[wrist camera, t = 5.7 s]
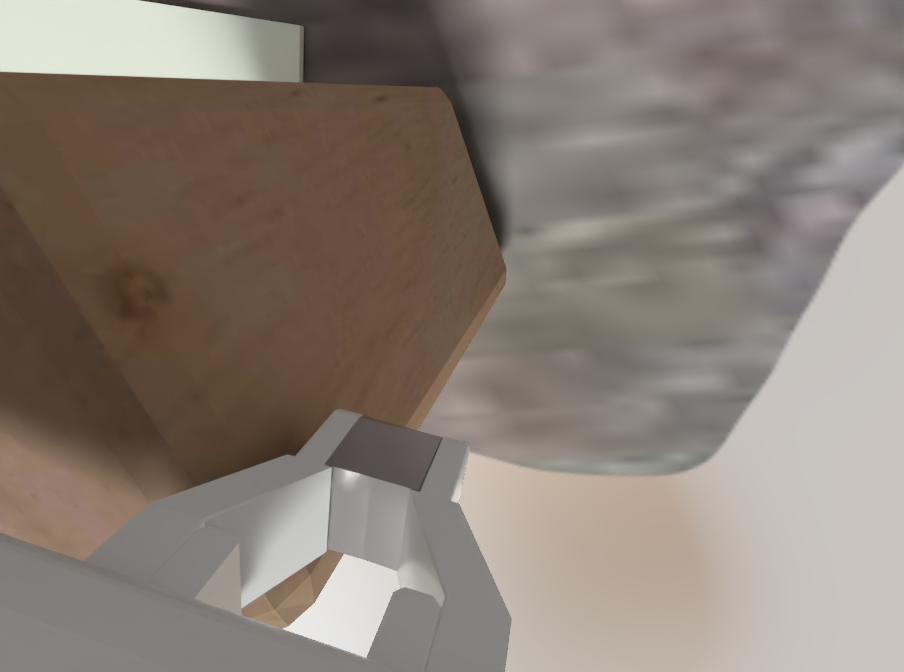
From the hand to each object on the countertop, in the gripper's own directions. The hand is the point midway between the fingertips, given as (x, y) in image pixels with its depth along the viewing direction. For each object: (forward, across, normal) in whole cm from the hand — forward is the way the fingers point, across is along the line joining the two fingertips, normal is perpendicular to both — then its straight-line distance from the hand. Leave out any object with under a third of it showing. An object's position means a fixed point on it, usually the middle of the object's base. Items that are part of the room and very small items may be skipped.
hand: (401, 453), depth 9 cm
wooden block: (+18, +6, 0) cm, 19 cm away
